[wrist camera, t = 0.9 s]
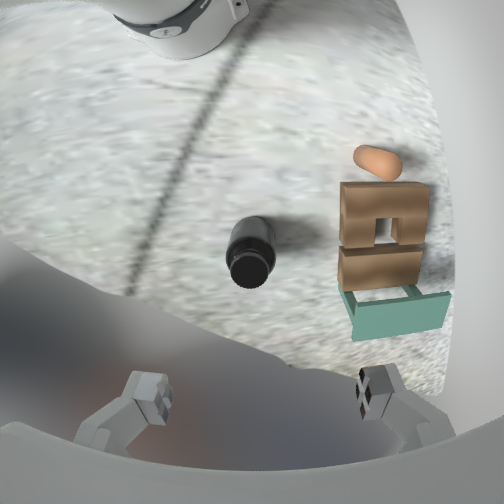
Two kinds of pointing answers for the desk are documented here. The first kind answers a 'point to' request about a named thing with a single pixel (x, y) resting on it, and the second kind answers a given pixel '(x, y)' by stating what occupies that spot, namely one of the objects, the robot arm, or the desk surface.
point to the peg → (378, 162)
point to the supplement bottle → (251, 252)
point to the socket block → (363, 234)
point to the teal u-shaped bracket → (396, 314)
